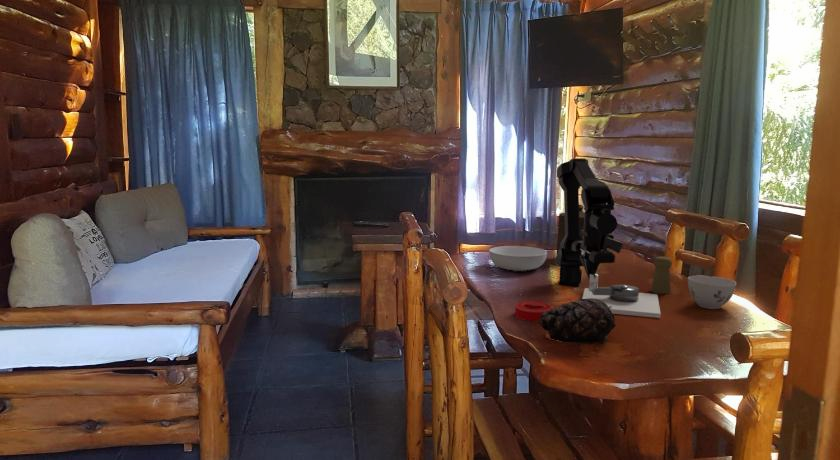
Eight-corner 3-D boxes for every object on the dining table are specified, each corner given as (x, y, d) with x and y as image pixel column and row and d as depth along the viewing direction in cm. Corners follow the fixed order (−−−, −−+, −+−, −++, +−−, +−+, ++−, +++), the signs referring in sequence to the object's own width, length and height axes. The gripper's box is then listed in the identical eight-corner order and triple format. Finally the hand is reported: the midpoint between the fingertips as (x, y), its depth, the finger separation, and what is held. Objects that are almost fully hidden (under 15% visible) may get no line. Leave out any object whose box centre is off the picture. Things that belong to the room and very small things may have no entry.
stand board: (579, 310, 169) (580, 304, 169) (584, 291, 189) (585, 287, 188) (660, 318, 162) (660, 312, 162) (656, 298, 182) (657, 293, 182)
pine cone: (534, 332, 150) (535, 293, 148) (604, 331, 151) (606, 292, 150) (545, 347, 140) (547, 305, 138) (620, 346, 141) (623, 304, 139)
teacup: (743, 312, 168) (745, 284, 166) (699, 313, 167) (701, 285, 166) (714, 298, 183) (717, 272, 181) (674, 298, 182) (676, 272, 181)
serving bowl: (554, 267, 223) (555, 249, 222) (533, 278, 206) (533, 258, 205) (503, 260, 234) (503, 243, 233) (478, 270, 217) (479, 251, 216)
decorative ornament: (519, 322, 158) (519, 311, 158) (511, 311, 168) (512, 300, 167) (555, 322, 159) (556, 310, 158) (546, 311, 168) (546, 300, 168)
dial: (632, 294, 180) (634, 271, 179) (642, 301, 172) (643, 277, 171) (585, 293, 180) (586, 271, 179) (592, 301, 172) (593, 277, 171)
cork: (672, 294, 186) (675, 259, 185) (652, 293, 188) (654, 258, 186) (669, 289, 192) (671, 255, 190) (649, 288, 193) (651, 254, 192)
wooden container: (594, 258, 240) (597, 203, 237) (596, 266, 226) (599, 207, 222) (556, 256, 243) (558, 201, 240) (556, 263, 229) (558, 206, 226)
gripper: (635, 233, 167) (631, 287, 170) (607, 222, 185) (604, 271, 188) (596, 233, 166) (593, 288, 169) (572, 222, 184) (569, 272, 187)
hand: (590, 279), depth 178 cm, fingers closed
